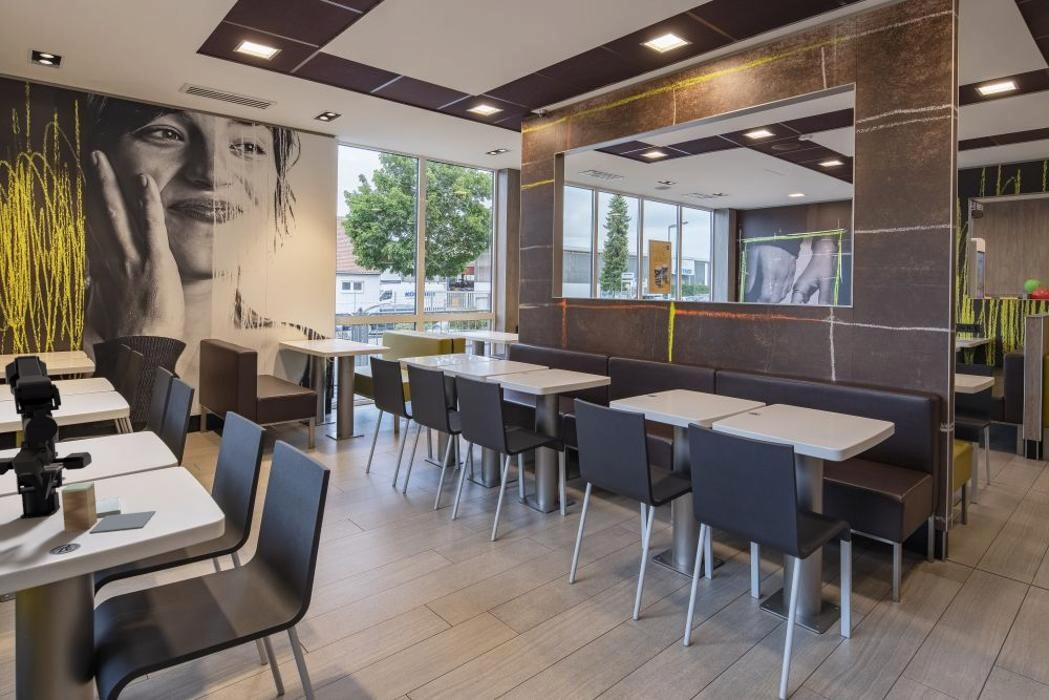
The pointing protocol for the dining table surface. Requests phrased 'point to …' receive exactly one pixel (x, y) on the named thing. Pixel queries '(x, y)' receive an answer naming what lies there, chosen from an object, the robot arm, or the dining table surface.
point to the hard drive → (108, 507)
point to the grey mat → (123, 522)
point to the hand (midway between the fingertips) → (44, 499)
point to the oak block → (79, 506)
